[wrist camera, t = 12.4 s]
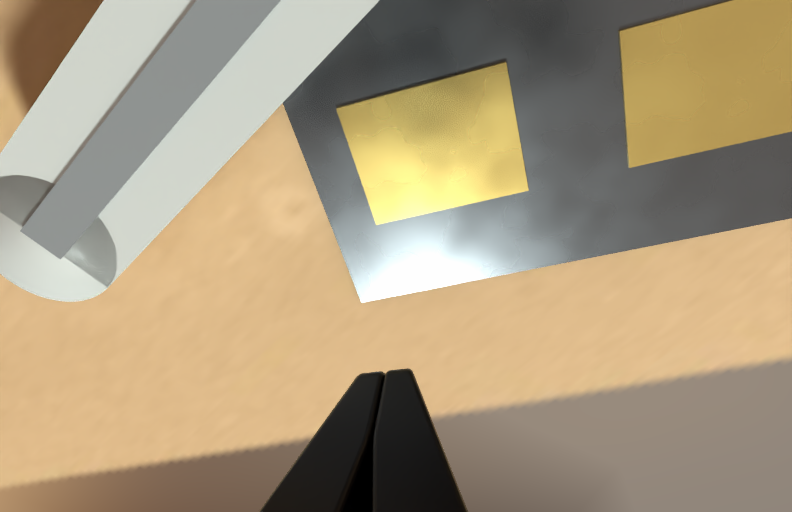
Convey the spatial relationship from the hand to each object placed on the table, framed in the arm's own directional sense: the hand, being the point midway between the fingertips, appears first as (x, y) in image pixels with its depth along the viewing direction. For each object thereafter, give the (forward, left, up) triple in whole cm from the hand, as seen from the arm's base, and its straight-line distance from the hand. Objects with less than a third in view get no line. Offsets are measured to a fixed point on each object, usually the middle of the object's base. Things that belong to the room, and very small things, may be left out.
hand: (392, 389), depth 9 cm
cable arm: (0, -6, -9) cm, 11 cm away
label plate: (-5, +2, -10) cm, 11 cm away
